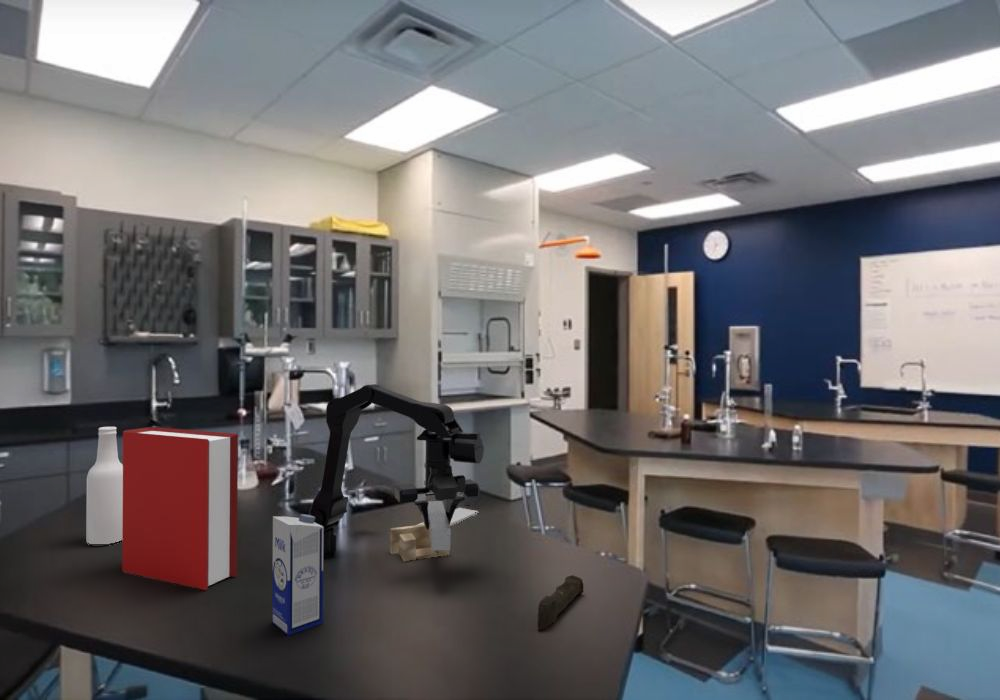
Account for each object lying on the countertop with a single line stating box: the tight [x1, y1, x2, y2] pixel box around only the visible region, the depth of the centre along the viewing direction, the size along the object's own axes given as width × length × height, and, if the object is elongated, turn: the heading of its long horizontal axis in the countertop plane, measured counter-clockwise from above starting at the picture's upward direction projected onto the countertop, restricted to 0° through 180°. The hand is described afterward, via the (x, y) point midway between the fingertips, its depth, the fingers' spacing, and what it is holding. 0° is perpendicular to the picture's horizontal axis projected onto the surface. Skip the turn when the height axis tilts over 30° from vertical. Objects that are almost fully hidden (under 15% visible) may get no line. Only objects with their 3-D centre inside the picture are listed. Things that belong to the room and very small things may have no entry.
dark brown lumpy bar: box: [537, 575, 584, 631], centre depth 112 cm, size 19×4×5 cm, turn 150°
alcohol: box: [85, 426, 123, 545], centre depth 150 cm, size 9×9×30 cm
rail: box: [427, 500, 452, 551], centre depth 131 cm, size 4×22×4 cm, turn 10°
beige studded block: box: [389, 524, 451, 562], centre depth 143 cm, size 15×8×6 cm, turn 112°
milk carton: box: [271, 513, 324, 636], centre depth 106 cm, size 7×7×20 cm
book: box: [121, 426, 239, 591], centre depth 129 cm, size 27×8×32 cm, turn 68°
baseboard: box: [416, 504, 480, 527], centre depth 167 cm, size 30×3×10 cm
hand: (437, 528), depth 131 cm, fingers closed on rail, 4 cm apart
